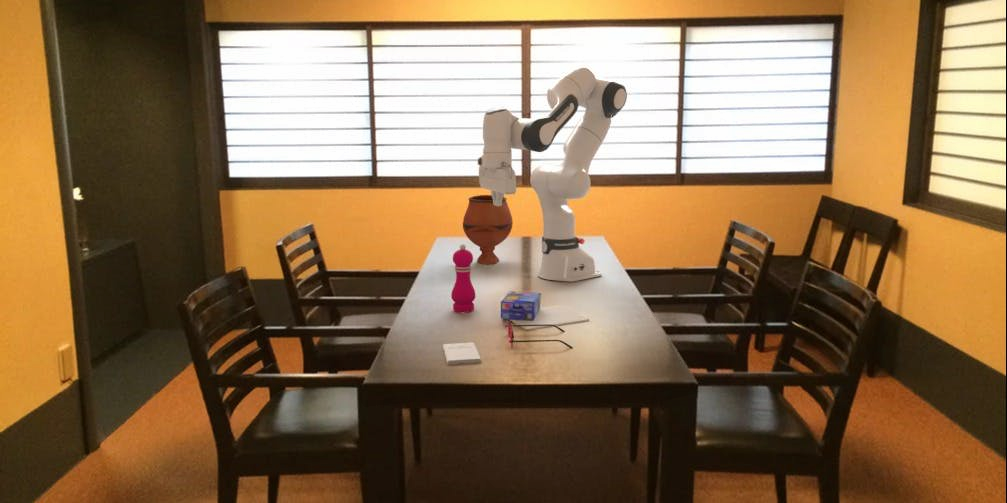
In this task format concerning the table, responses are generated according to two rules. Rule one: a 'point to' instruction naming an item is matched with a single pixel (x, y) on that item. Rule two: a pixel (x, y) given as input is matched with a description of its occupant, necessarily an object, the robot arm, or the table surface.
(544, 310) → the felt mat
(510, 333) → the glasses
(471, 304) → the pepper mill
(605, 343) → the table surface
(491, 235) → the goblet
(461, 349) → the external hard drive
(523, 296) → the ink cartridge box
